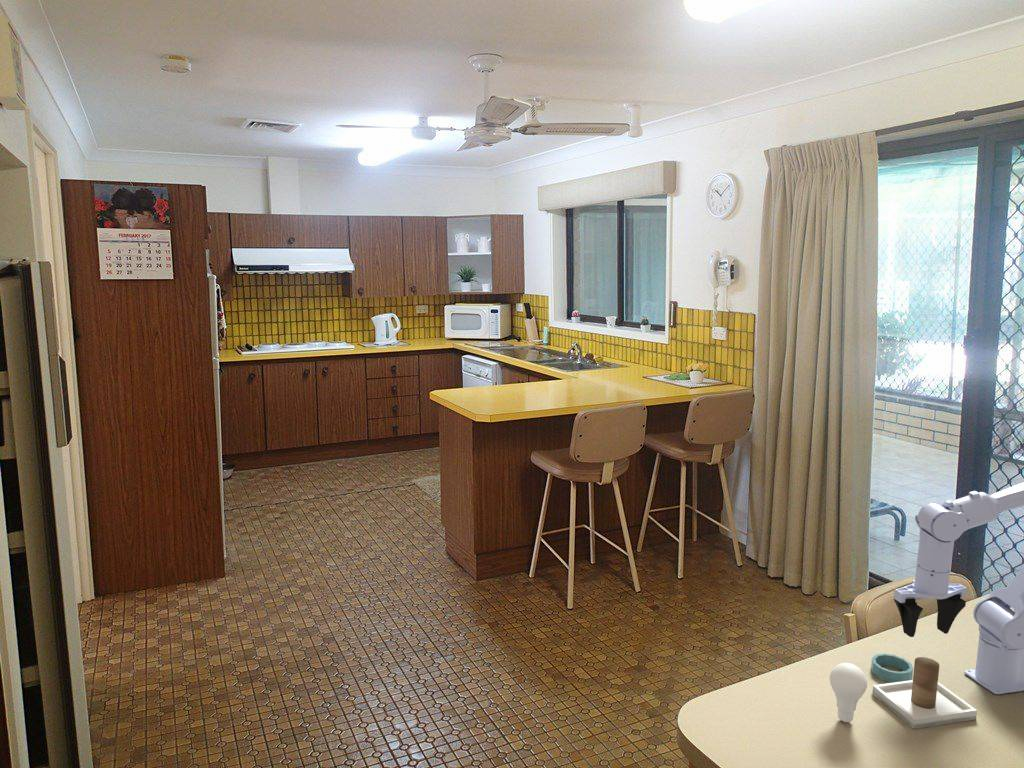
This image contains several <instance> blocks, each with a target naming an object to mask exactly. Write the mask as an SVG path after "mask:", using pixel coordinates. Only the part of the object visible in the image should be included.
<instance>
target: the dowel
mask: <svg viewBox="0 0 1024 768" xmlns="http://www.w3.org/2000/svg"><path fill="white" fill-rule="evenodd" d="M939 674H940V663H939V662H938V661H936V660H934V659H933V658H929V657H924V656H919V657H916V658H915V659H914V664H913V675H912V680H913V684H912V695H911V701H912V703H913V704H915V705H916V706H919V707H921V708H925V709H932V708H934V707H935V705H936V695H937V685H938V682H939Z"/></svg>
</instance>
